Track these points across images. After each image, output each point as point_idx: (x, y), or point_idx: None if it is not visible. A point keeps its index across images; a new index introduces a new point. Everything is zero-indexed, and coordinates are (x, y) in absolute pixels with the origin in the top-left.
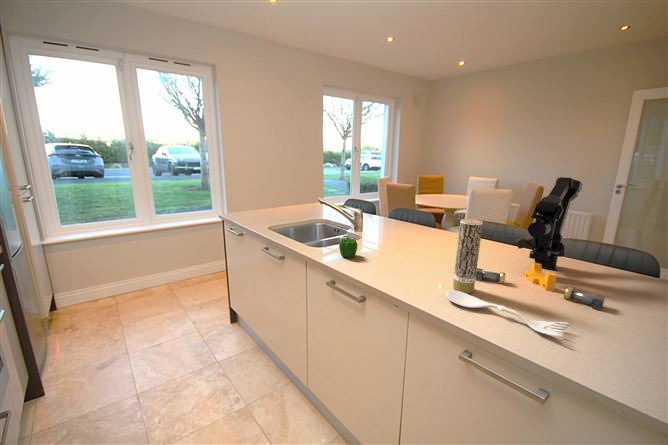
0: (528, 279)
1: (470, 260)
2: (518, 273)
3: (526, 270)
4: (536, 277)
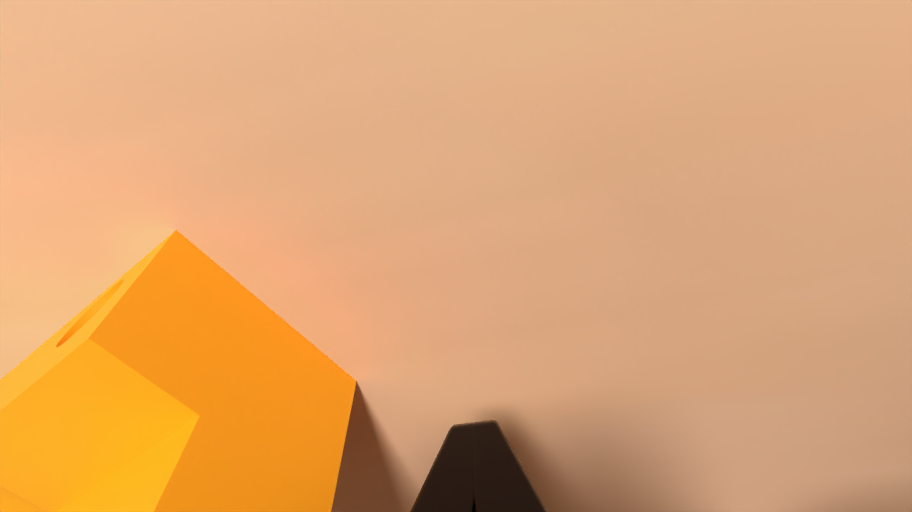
0: (65, 325)
1: None
2: (248, 65)
3: (68, 357)
4: (9, 508)
